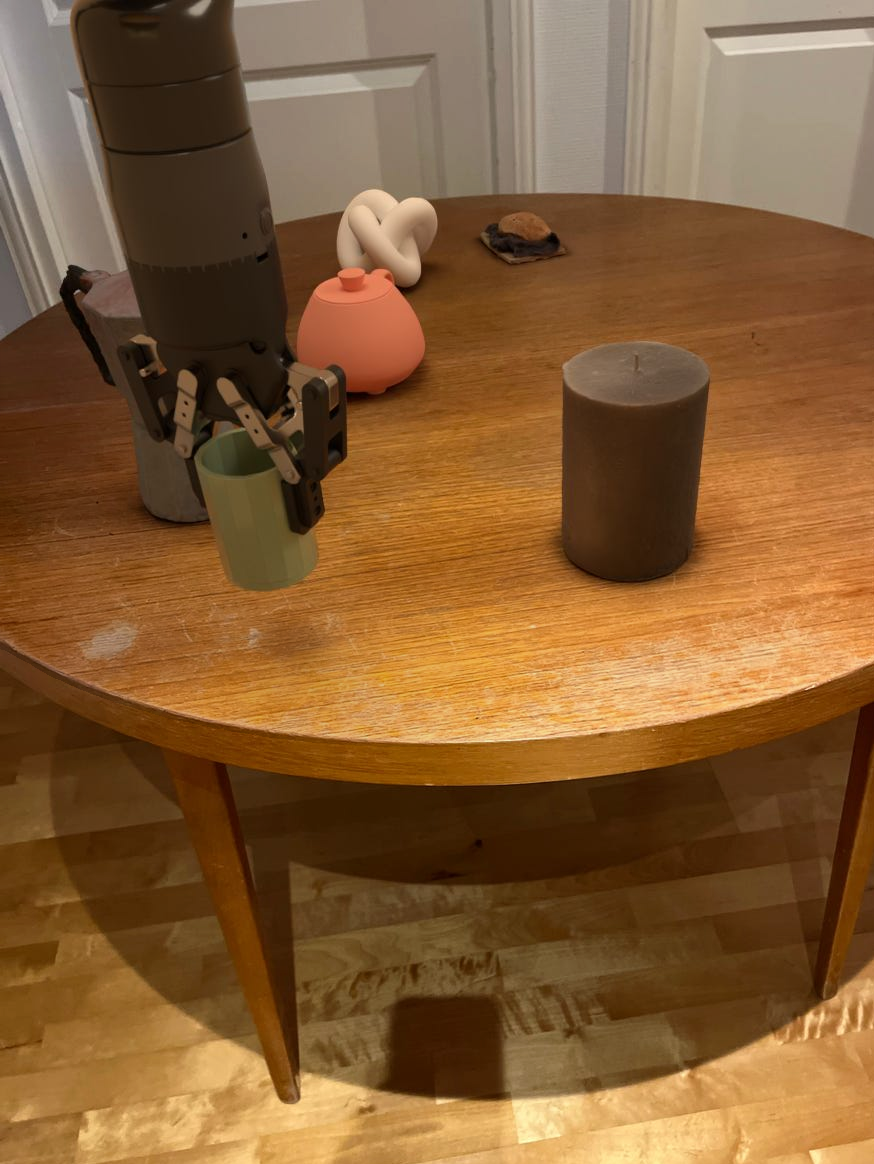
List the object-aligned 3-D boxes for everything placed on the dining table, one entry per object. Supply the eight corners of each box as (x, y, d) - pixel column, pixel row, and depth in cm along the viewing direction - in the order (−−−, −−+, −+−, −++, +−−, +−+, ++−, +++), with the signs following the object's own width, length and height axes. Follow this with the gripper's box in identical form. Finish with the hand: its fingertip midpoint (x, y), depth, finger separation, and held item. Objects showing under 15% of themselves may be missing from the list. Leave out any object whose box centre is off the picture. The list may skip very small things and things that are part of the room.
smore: (475, 239, 124) (473, 209, 122) (536, 228, 126) (536, 198, 124) (505, 266, 116) (504, 234, 114) (570, 254, 118) (571, 222, 116)
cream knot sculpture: (414, 251, 121) (407, 174, 116) (462, 280, 113) (458, 199, 108) (331, 273, 117) (319, 194, 111) (375, 304, 109) (365, 221, 104)
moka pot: (244, 542, 75) (179, 283, 62) (80, 511, 80) (-13, 264, 67) (303, 478, 82) (255, 232, 69) (149, 453, 86) (77, 218, 73)
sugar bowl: (278, 395, 94) (258, 289, 87) (346, 336, 103) (332, 236, 97) (394, 412, 90) (381, 303, 83) (453, 349, 99) (446, 247, 93)
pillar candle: (691, 587, 68) (715, 389, 58) (552, 577, 70) (552, 383, 60) (693, 510, 75) (714, 322, 66) (567, 503, 77) (569, 318, 67)
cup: (204, 577, 61) (172, 466, 56) (260, 527, 65) (236, 418, 60) (283, 601, 59) (258, 488, 54) (336, 547, 63) (318, 437, 58)
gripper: (36, 241, 49) (128, 521, 60) (274, 278, 44) (327, 578, 55) (137, 195, 54) (205, 462, 65) (361, 224, 49) (394, 508, 60)
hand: (261, 514), depth 60 cm, fingers closed on cup, 6 cm apart
